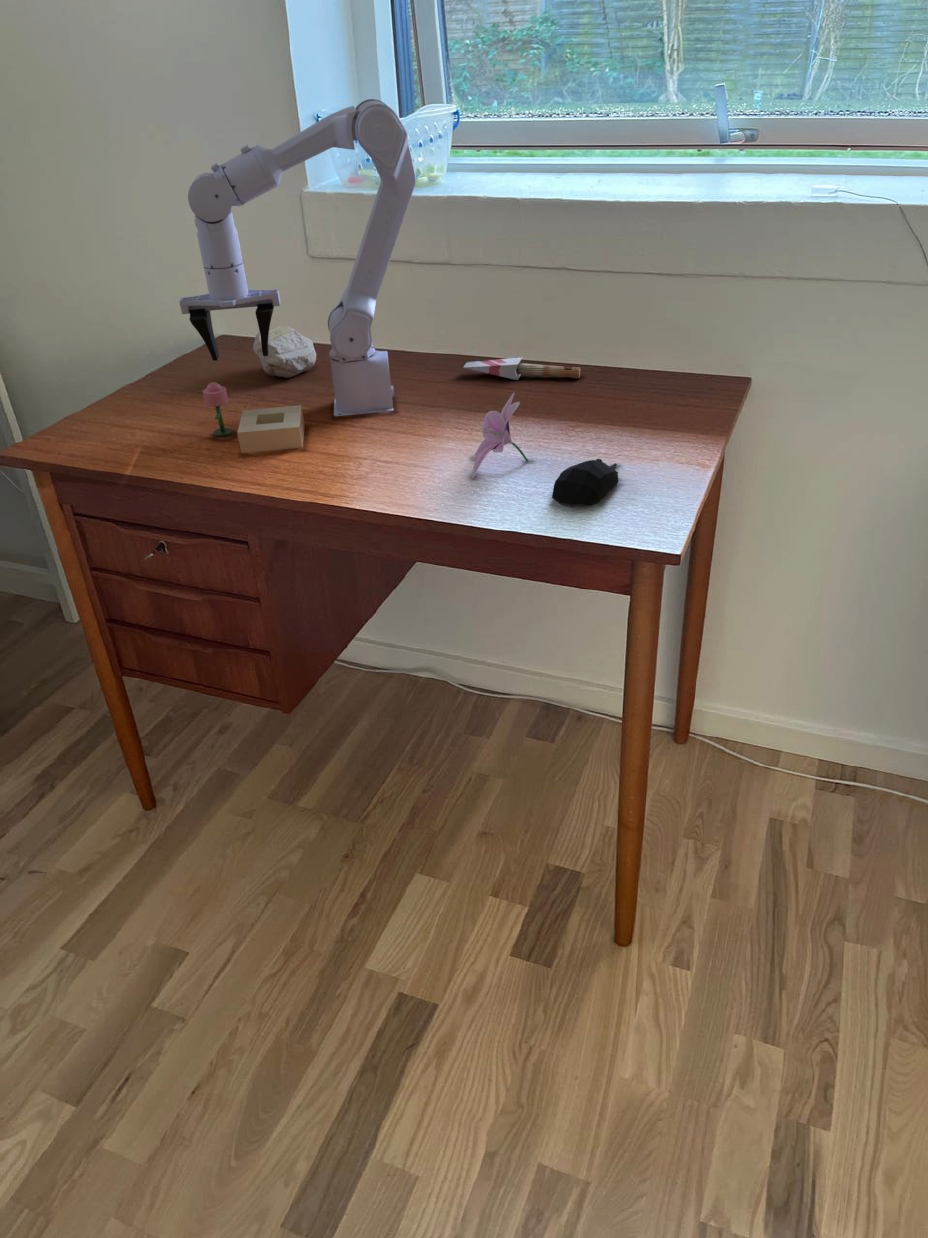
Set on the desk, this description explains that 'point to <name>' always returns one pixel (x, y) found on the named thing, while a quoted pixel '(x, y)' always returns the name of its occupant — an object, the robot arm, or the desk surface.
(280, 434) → the beige square socket block
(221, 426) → the flower
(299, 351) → the white rock
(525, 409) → the desk surface
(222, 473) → the desk surface
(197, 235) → the robot arm
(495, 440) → the lily
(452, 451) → the desk surface
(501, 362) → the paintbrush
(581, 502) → the gaming mouse
